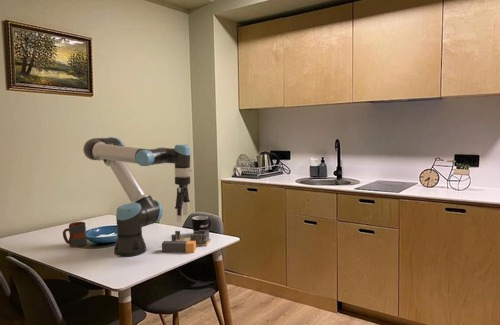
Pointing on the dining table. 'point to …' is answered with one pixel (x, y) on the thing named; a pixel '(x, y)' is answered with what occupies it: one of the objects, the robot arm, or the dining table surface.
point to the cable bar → (179, 246)
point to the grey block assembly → (194, 237)
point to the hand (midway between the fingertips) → (182, 218)
